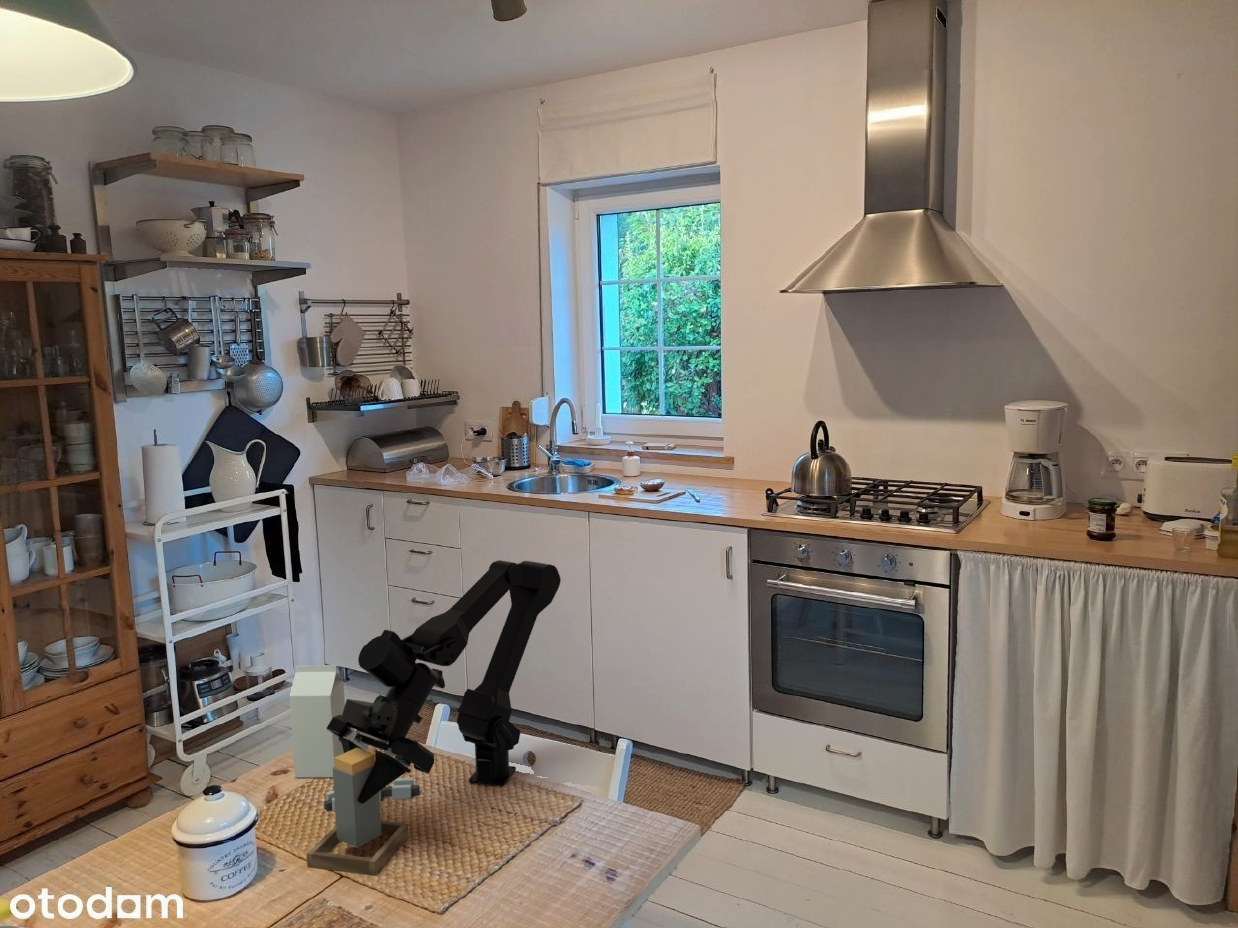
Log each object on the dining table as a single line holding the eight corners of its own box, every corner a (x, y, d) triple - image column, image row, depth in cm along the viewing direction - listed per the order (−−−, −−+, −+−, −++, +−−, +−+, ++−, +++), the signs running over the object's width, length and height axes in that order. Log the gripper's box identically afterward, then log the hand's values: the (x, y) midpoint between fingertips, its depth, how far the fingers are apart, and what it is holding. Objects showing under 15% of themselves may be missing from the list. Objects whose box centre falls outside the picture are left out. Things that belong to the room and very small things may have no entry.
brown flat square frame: (345, 828, 139) (344, 816, 139) (408, 835, 137) (408, 823, 136) (307, 866, 129) (306, 853, 129) (375, 875, 126) (374, 861, 126)
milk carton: (335, 778, 156) (329, 672, 153) (294, 778, 156) (287, 673, 154) (348, 759, 163) (342, 658, 161) (309, 760, 163) (302, 659, 161)
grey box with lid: (361, 825, 136) (357, 746, 134) (381, 833, 133) (376, 753, 131) (337, 838, 132) (331, 757, 130) (356, 847, 129) (351, 765, 128)
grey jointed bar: (323, 801, 148) (323, 789, 147) (417, 784, 153) (416, 773, 153) (324, 814, 144) (324, 802, 143) (421, 796, 149) (420, 785, 148)
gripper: (333, 664, 138) (273, 759, 131) (415, 688, 127) (356, 794, 120) (376, 696, 145) (323, 788, 138) (458, 722, 135) (404, 824, 127)
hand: (349, 797), depth 131 cm, fingers closed on grey box with lid, 4 cm apart
